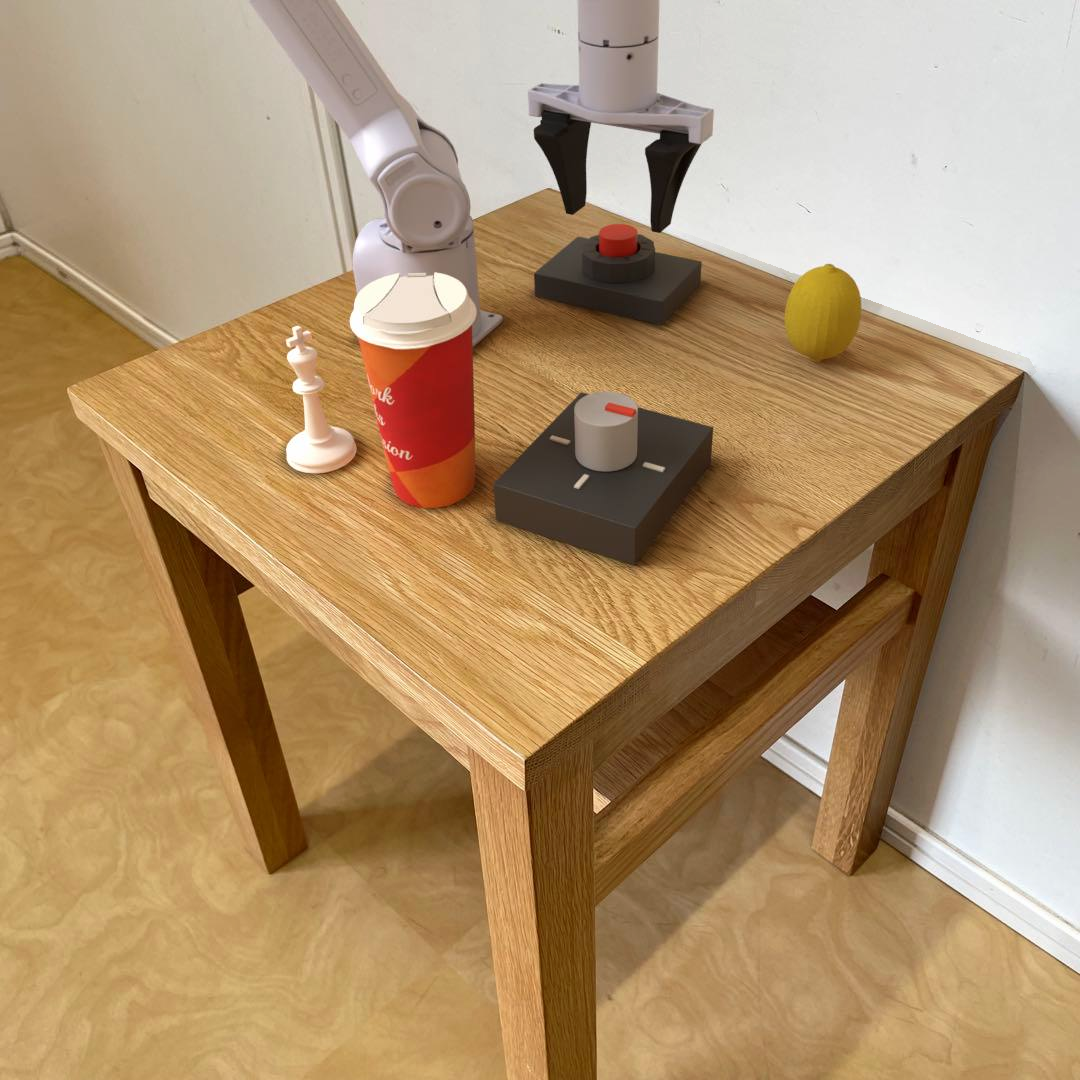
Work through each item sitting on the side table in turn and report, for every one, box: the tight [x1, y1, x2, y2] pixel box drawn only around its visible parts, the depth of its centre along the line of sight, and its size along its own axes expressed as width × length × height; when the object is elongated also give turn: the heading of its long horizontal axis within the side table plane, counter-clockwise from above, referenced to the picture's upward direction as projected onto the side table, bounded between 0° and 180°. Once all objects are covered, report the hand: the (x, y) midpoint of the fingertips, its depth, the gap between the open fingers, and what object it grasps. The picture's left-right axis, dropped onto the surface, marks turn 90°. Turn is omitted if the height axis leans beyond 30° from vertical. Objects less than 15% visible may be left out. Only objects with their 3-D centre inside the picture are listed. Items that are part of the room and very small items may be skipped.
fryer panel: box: [492, 392, 714, 566], centre depth 73 cm, size 10×12×3 cm
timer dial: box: [574, 391, 638, 472], centre depth 71 cm, size 4×4×4 cm
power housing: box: [533, 233, 703, 326], centre depth 95 cm, size 12×8×4 cm, turn 61°
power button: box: [598, 223, 638, 258], centre depth 93 cm, size 3×3×2 cm
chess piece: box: [285, 325, 358, 474], centre depth 76 cm, size 5×5×10 cm
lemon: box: [784, 263, 862, 363], centre depth 83 cm, size 6×6×8 cm
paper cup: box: [349, 272, 477, 509], centre depth 71 cm, size 8×8×14 cm
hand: (617, 218), depth 88 cm, fingers open, 7 cm apart
